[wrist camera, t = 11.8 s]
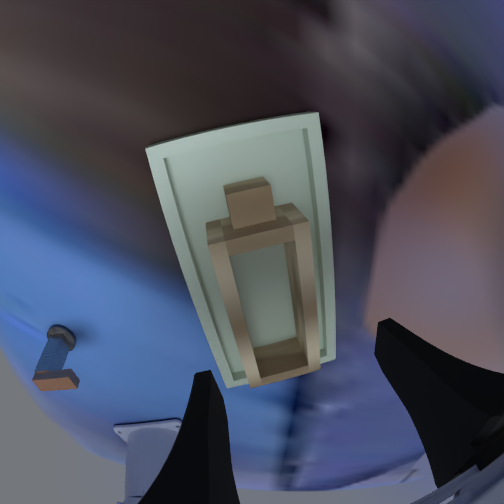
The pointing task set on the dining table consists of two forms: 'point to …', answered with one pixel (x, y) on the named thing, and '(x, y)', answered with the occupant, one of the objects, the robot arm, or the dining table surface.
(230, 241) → the tan rectangular frame
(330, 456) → the dining table surface
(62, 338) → the rubber stamp
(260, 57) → the dining table surface
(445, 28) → the dining table surface
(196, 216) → the tray
